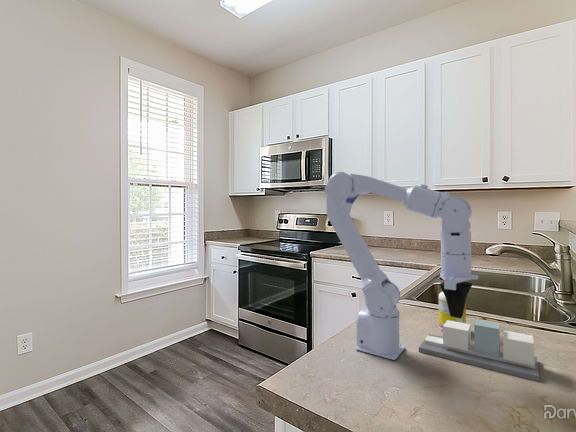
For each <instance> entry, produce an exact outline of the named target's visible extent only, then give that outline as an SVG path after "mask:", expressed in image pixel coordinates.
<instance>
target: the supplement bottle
mask: <svg viewBox="0 0 576 432" xmlns="http://www.w3.org/2000/svg"><path fill="white" fill-rule="evenodd" d="M466 303H467V301H466V302H465V308H464V312H463V316H462V318H455V317H451V316H450V313H449V309H448V305H447V301H446V297H445V295H444V293H443V291H440V293H439V294H438V328H439V330H440V331H442V332H443V326H444V324H445V323H446V321H447V320H450V321H455V322H461V323H466V324H467V309H466V308H467V304H466Z"/></svg>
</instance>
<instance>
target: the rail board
mask: <svg viewBox="0 0 576 432" xmlns="http://www.w3.org/2000/svg"><path fill="white" fill-rule="evenodd" d="M471 327H472V325H471V324H470V323H467V322H466V323H461V322H455V321H450V320H447V321H446V323H445V324H444V326H443V331H442V336H440V335H435V334H431V333H428V334H427V336H426V337H425V339H424V340H423V341H422V342H421V344H420V345H419V347H418V353H423V354H427V355H431V356H435V357H438V358H443V359H447V360H451V361H455V362H459V363H463V364H466V365H467V364H468V365H470V366H475V367H478V368H482V369H487V370H491V371H495V372H499V373H503V374H507V375H509V376H510V375H511V376H515V377H519V378H523V379H527V380H530V381H535V382H538V383H539V382H540V373H539V372H540V371H539V365H538V364H539V363H538V357H537V356H534V353H535V352H534V351H535V350H534V348H535V346H534V335H529V334H526V333H520V332H514V331H509V330H503V331H504V332H503V336H502V337H503V338H502V342H503V344H502V345H503V346H502V347H503V348H502V349H501V348H500V354H499V357H496V356H491V355H487V354H483V353H478V352H474V342H473V343H472V342H471V341H472V337H471V336H472V333H471V332H472V328H471Z"/></svg>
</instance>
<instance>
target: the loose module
mask: <svg viewBox="0 0 576 432" xmlns="http://www.w3.org/2000/svg"><path fill="white" fill-rule="evenodd" d="M473 329H474V330H473V331H474V332H473V333H474V334H473V335H474V336H473V337H474V338H473V341H474V342H473V343H474V352H478V353H483V354H487V355H491V356H496V357H499V354H500V349H501V323H498V322H494V321H493V322H492V321H487V320H481V319H476V320H475V323H474V328H473Z"/></svg>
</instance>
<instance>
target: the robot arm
mask: <svg viewBox="0 0 576 432" xmlns="http://www.w3.org/2000/svg"><path fill="white" fill-rule="evenodd" d="M324 193H325V195H326V216H327V219H328V220H329V222H330V224H331V226H332V228H333V230H334V231H335V233H336V235H337V237H338V239H339V240H340V243H341V244H342V247H343V248H344V250H345V252H346V254H347V256H348V258H349V259H350V261H351V263H352V265H353V267H354V269H355V271H356V273H357V274H358V277H360V281H361V282H360V283H361V291H362V292H363V295H364V298H365V301H364V302H365V306H366V309H365V308H363V309H361V310H360V311H358V315H357V319H356V347H355V350H356V351H360V352H364V353H367V354H371V355H374V356H379V357H381V358H384V359H389V360H392V361H395V360H397V358H398V357H399V356H400V355H401V353H403V351H404V350H405V349H406V346H405V345H402V344H400V311H399V309H398V307H397V304H398V303H399V302H400V300H401V299H400V298H401V292H400V291H401V290H400V289H399V287H398V286H397V285H396V284H395V283H394V282H392V281H391V280H390V279H389V278H388V276H387V274H386V273H385V272H384V271H383V270H382V269H381V268H380V266H379V265H378V263H377V261H376V259H375V258H374V255H373V254H372V252H371V250H370V249H369V247H368V245H367V243H366V241H365V240H364V238H363V236H362V235H361V233H360V231H359V229H358V227H357V226H356V224H355V222H354V220H353V218H352V217H351V215H350V213H351V210H352V208H353V205H354V203H355V202H356V201H357V199H358V198H359V196H360V195H368V194H375V195H379V196H381V197H386V198H390V199H393V200H397V201H399V202H402V203H403V204H404V206H405V208H406V210H409V211H412V212H415V213H419V214H421V215H424V216H426V217H430V218H433V219H436V218H438V217H440V219H441V231H440V273H439V277H440V278H441V279H442V280H443V281H442V282H439V287H440V289H441V292H443V293H444V295H445V297H446V301H447V305H448V309H449V313H450V316H451V317H455V318H462V316H463V312H464V308H465V302H466V303H467V298H468V294H469V292H470V290H471V289H472V287H473V283H472V282H469V281H471V280H476V281H477V280H478V279H479V275H477V274H472V232H471V230H470V229H471V222H470V220H469V219H471V217H472V213H473V209H472V207H471V205H470V203H469V202H468V201H467V200H466V199H465V198H463V197H460V196H451V192H449V191H445V192H441V191H437V190H434V189H431V188H429V186H428V185H427V184H423V183H421V185H416V184H415V185H413V186H410V187H409V188H405V187H402V186H400V185H396V184H393V183H390V182H387V181H384V180H380V179H378V178H374V177H371V176H369V175H361V174H358V173H357V174H356V173H350V174H349V173H346V172H344V171H337V172H334V173H333V174H331V175H330V177H329V178H328V179H327V183H326V184H325V187H324ZM450 196H451V197H450ZM467 281H468V282H467Z"/></svg>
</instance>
